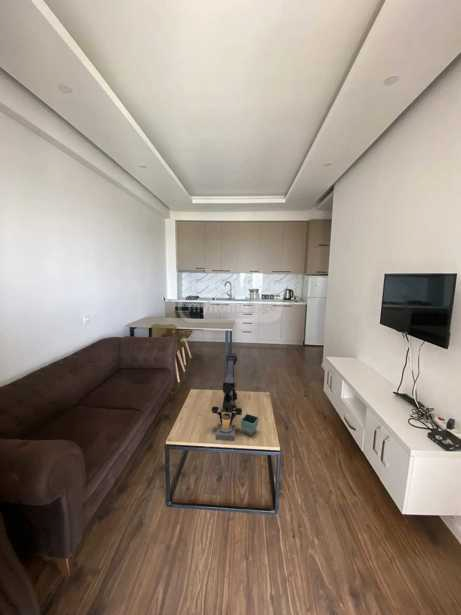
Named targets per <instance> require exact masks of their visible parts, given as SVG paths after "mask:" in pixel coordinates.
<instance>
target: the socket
mask: <svg viewBox="0 0 461 615" xmlns="http://www.w3.org/2000/svg"><path fill="white" fill-rule="evenodd" d="M220 426H221V423H217V428H216V433H215V440H221V441H222V440H223V441H235V438H236V424H231V426H232V431H231V432H230V433H223V432H221V431H220Z"/></svg>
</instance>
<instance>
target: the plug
mask: <svg viewBox="0 0 461 615" xmlns="http://www.w3.org/2000/svg"><path fill="white" fill-rule="evenodd" d="M230 420H231V414H229V413H222V425H221V426H220V431H221V432H223V433H231V431H232V426H230Z"/></svg>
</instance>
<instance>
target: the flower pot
mask: <svg viewBox="0 0 461 615" xmlns="http://www.w3.org/2000/svg"><path fill="white" fill-rule="evenodd" d="M259 420H260V417H258V416H256V415H253V414H249V413H245V415H244V416H243V417H242V418H241V420H240V425H241V430H242V432H243V434H246V435H250V436H252V435H253V434H254V433H255V432H256V430H257V428H258V425H259Z"/></svg>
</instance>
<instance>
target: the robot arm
mask: <svg viewBox="0 0 461 615" xmlns="http://www.w3.org/2000/svg"><path fill="white" fill-rule="evenodd" d="M225 361H226V363H227V370H226V371H227V372H226V376H225V378H224V381H223V382H222V393H223V400H222V401H223V402H222V404H221V405H222V406H221V408H219V406H212V408H211V413H212V414H216V415H217V416H219V421H220V424H221V425H222V415H223V413H231V414H230V426H231V425H233V421H234V418H235V417H237V416H242V415H243V408H242V407H237V405H236V401H237V400H238V393H237V392H236V382H235V365H236V364H237V363H238V355H237V353H227V354H226V356H225Z"/></svg>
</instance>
